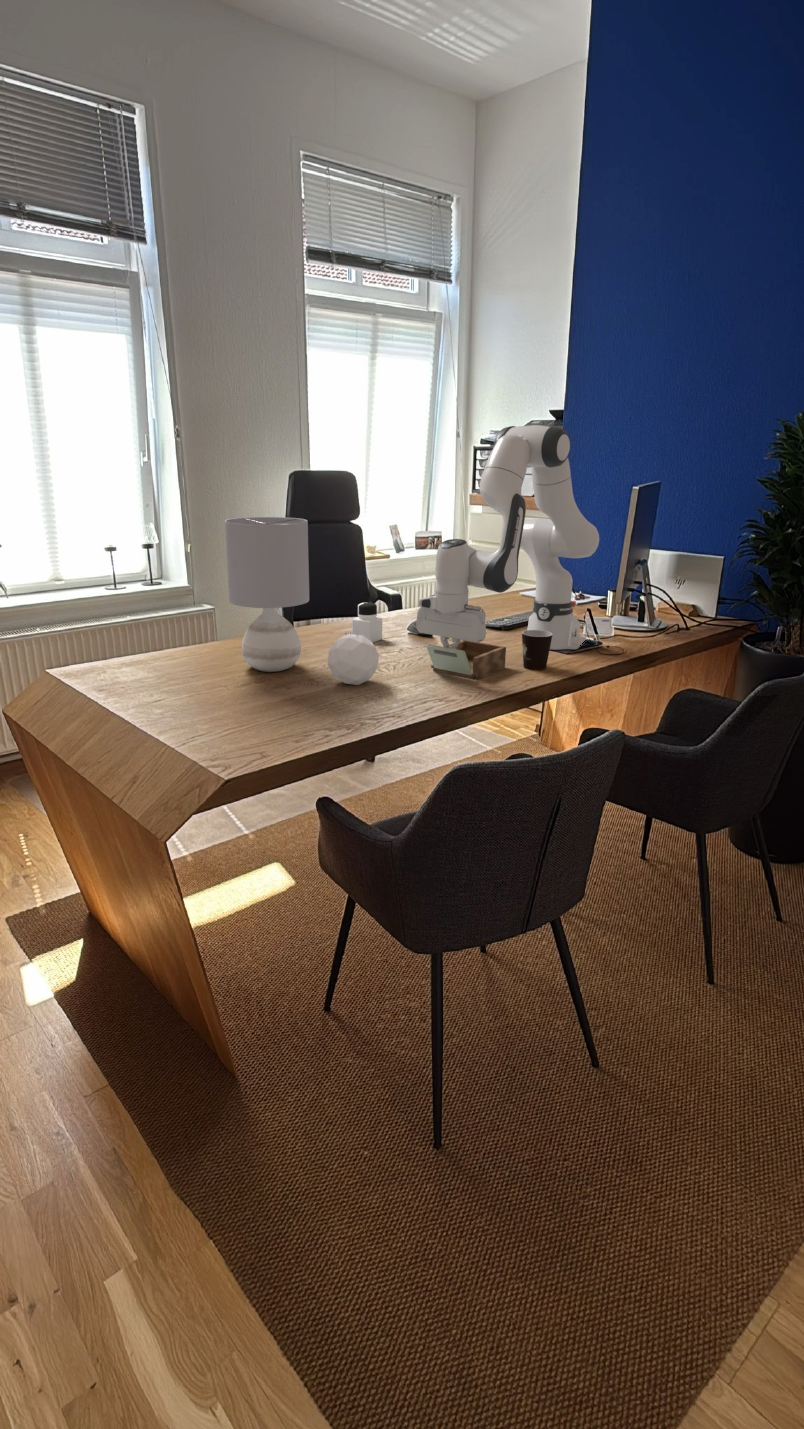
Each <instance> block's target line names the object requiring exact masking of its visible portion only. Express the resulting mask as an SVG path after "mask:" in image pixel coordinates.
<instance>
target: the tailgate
mask: <svg viewBox="0 0 804 1429" xmlns="http://www.w3.org/2000/svg"><path fill="white" fill-rule="evenodd" d="M426 650H427V652H428V654H429V658H430V660H431V663H432V665H433V666H434V668H438V669H443V670H448V671H452V672H457V673H462V674H467V675H470V674H471V673H472V672H471V669H470V666H469V662H468V659H467V656H466V653H465V651H463V650H458V649H452V648H447V647H444V646H441V645H437V644H436V645H435V644H429V643H428V644H427V645H426Z"/></svg>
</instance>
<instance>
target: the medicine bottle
mask: <svg viewBox="0 0 804 1429" xmlns="http://www.w3.org/2000/svg"><path fill="white" fill-rule="evenodd" d="M377 606H378V605H377V604H376V603H373V602H361V603H359V604H357V617H355V618H353V619H352V620H351V624H352V625H351V627H352V628H351V629H352V630H351V631H352V632H351V634H352V633H353V635H354V634H355V635H356V634H357V635H362V636H364V637H365V638H367V639H368V640H369V641H371V642H372V643H373V644H374V643H375V642H378V641H381V640H383V618H382V617H379V616H378V607H377ZM377 616H378V617H377Z"/></svg>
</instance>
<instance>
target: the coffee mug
mask: <svg viewBox="0 0 804 1429" xmlns="http://www.w3.org/2000/svg"><path fill="white" fill-rule="evenodd" d="M552 635H553V634H552V633H551V632H548V631H543V630H527V629H526V630H523V631H522V632H521V644H522V661H523V668H524V669H526V670H528V671H529V670H530V671H543V670H546V669H547V664H548V660H549V654H550V651H551V649H550V645H551V640H552Z"/></svg>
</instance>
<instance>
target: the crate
mask: <svg viewBox="0 0 804 1429" xmlns="http://www.w3.org/2000/svg"><path fill="white" fill-rule="evenodd" d="M449 645H450V646H452V645H453V643H449ZM456 649H458V650H463V651H465V653H466V656H467V659H468V662H469V666H470V669H471V672H472V673H471V674H470V675H467V674H462V673H457V672H452V671H448V670H443V669H438V668H434V666H433V664H431V665H430V668H431V669H432V671H433V672H435V673H441V674H447V675H452V676H456V677H461V678H466V679H471V680H475V679H477V680H479V679H481V677H482V678H484V677H485V676H488V675H491V674H493V673H496V672H498V671H500V670H503V669H504V668H506V655H507V647H506V646H501V645H495V644H490V643H485V642H471V641H465V640H461V641H460V643H459V644H458V646H457V648H456ZM502 668H503V669H502ZM497 670H498V671H497ZM495 671H496V672H495ZM492 672H493V673H492ZM490 673H491V674H490Z"/></svg>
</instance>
